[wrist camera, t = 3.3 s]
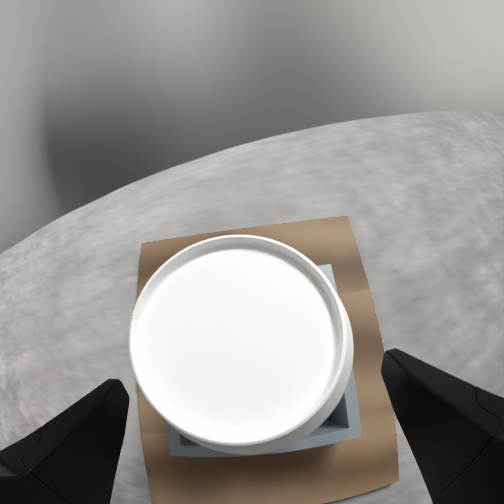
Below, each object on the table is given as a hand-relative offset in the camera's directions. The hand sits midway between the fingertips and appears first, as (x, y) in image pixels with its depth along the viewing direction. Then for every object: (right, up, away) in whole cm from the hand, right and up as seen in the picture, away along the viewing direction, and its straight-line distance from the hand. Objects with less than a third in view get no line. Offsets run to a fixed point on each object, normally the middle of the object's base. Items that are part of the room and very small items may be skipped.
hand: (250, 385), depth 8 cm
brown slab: (+1, -3, +8) cm, 9 cm away
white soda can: (+1, -3, +8) cm, 9 cm away
